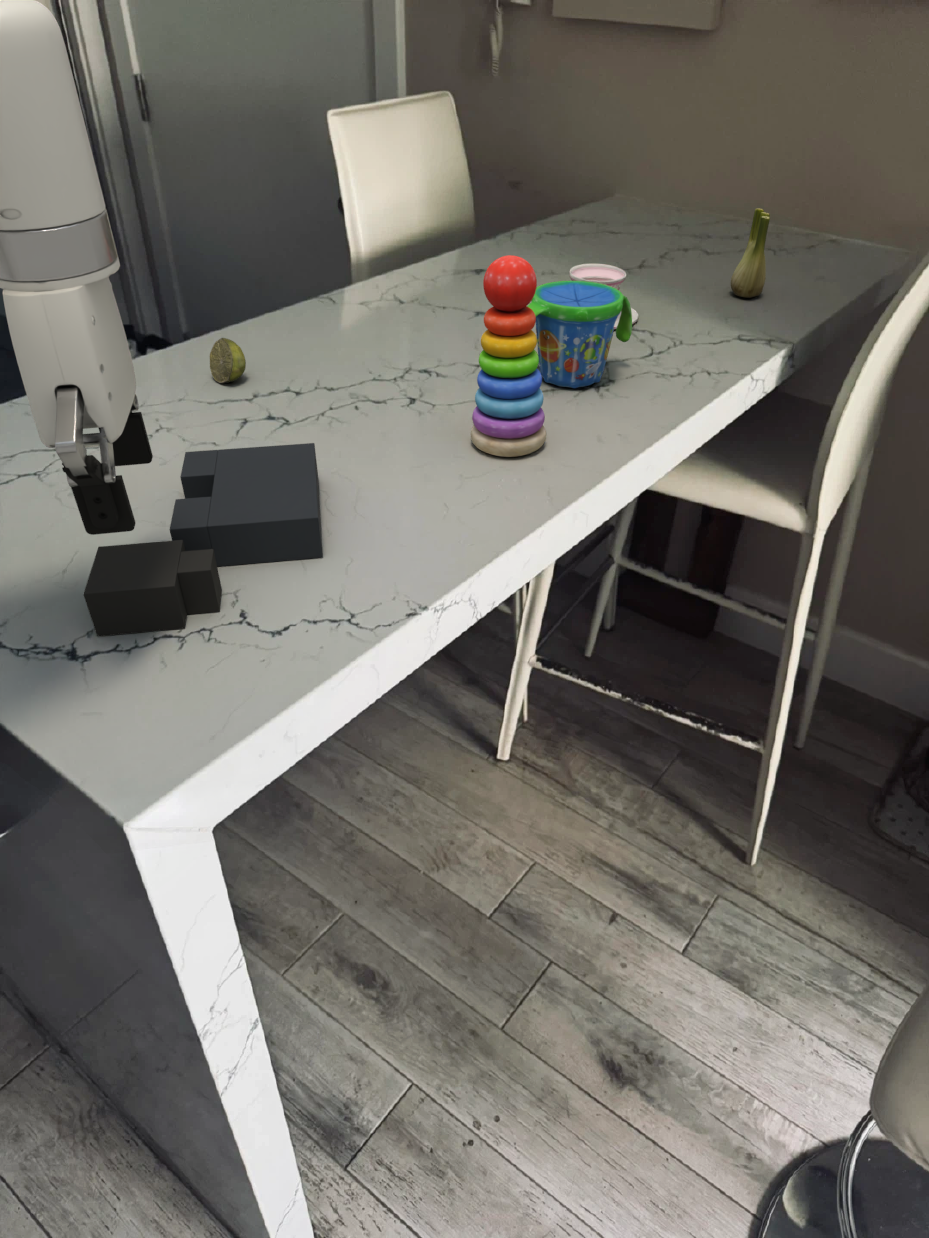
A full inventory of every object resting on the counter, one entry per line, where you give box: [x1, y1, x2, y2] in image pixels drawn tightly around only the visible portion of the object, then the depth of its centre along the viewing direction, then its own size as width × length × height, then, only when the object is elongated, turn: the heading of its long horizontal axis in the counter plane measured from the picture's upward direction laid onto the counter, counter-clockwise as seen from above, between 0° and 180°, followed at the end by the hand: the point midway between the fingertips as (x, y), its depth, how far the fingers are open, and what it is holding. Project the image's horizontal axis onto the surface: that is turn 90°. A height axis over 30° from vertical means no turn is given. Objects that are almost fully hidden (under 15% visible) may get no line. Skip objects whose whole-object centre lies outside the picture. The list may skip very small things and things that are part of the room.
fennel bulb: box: [730, 207, 771, 298], centre depth 128 cm, size 6×5×12 cm
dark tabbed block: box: [83, 540, 223, 637], centre depth 68 cm, size 9×6×4 cm
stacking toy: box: [470, 254, 547, 458], centre depth 86 cm, size 8×8×19 cm
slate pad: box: [169, 442, 324, 567], centre depth 78 cm, size 12×14×4 cm
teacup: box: [568, 263, 639, 330], centre depth 122 cm, size 12×12×6 cm
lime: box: [209, 337, 247, 384], centre depth 104 cm, size 4×5×5 cm
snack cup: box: [527, 280, 633, 389], centre depth 103 cm, size 16×10×10 cm
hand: (122, 495), depth 63 cm, fingers open, 9 cm apart
